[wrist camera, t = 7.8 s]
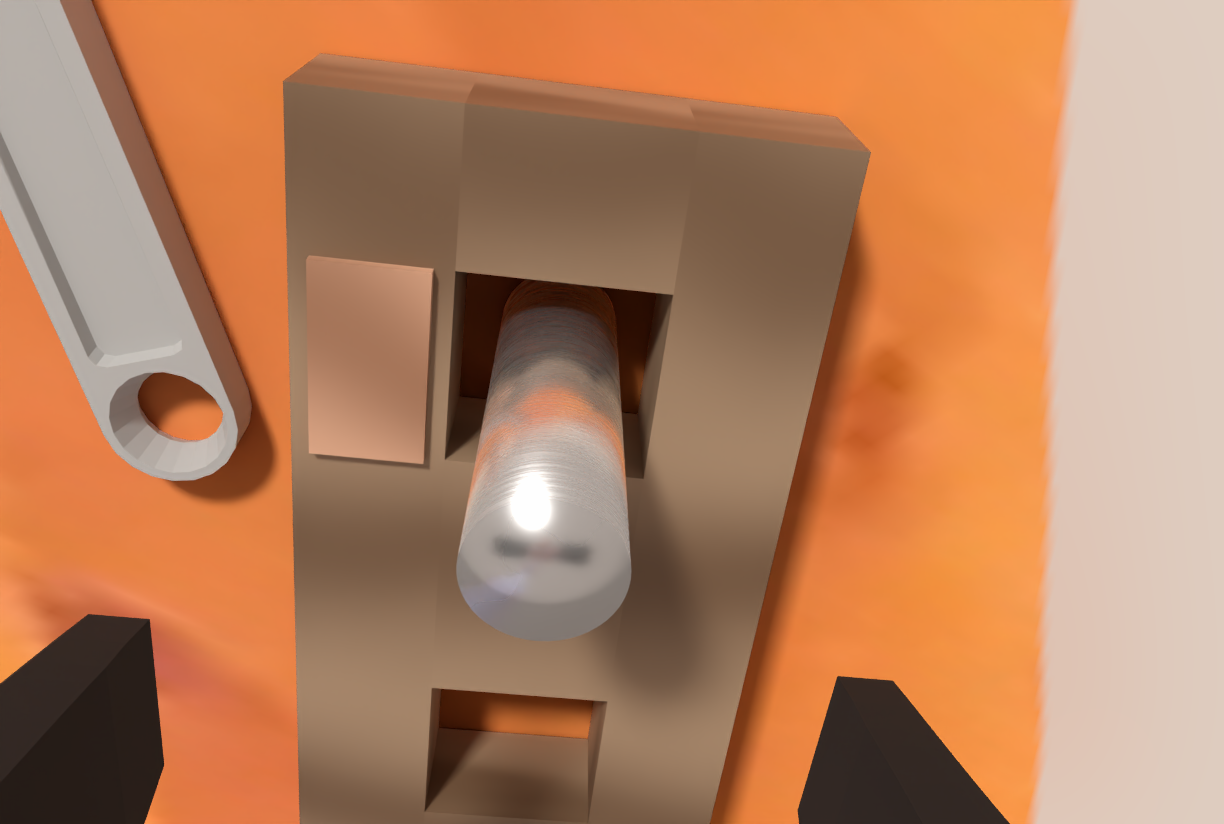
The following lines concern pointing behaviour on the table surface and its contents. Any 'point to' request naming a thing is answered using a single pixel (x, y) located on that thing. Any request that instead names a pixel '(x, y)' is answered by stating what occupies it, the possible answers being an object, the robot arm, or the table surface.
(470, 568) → the steel pin
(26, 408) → the table surface
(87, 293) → the adjustable wrench
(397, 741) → the dock board
